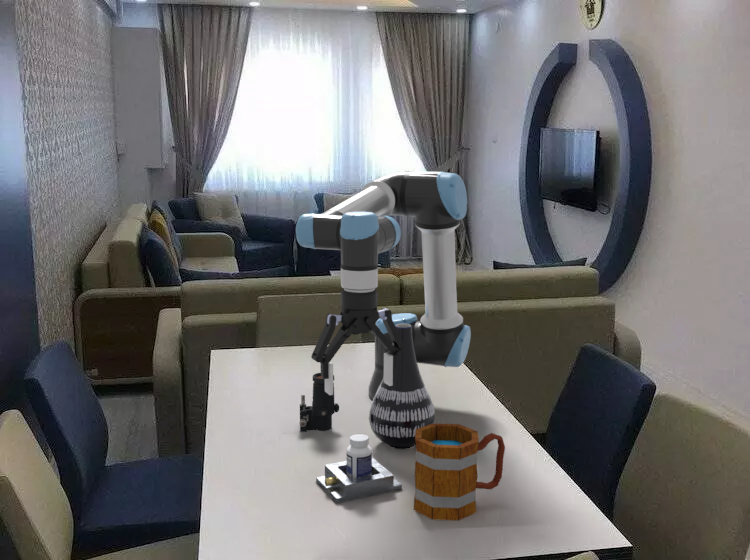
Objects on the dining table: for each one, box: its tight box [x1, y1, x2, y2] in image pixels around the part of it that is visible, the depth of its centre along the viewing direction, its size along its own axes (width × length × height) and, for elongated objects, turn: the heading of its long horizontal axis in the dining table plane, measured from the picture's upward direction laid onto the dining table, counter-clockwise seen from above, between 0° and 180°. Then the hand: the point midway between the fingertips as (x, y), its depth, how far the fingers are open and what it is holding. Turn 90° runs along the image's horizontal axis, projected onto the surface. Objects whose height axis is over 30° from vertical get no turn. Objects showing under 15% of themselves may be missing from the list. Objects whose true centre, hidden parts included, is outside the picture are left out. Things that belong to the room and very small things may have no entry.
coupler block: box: [315, 457, 403, 504], centre depth 169 cm, size 15×11×4 cm
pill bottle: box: [346, 433, 373, 479], centre depth 169 cm, size 5×5×10 cm
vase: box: [368, 324, 436, 450], centre depth 189 cm, size 16×16×30 cm
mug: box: [413, 422, 506, 522], centre depth 161 cm, size 20×14×15 cm
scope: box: [299, 372, 340, 433], centre depth 200 cm, size 8×14×10 cm
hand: (359, 388), depth 166 cm, fingers open, 13 cm apart
